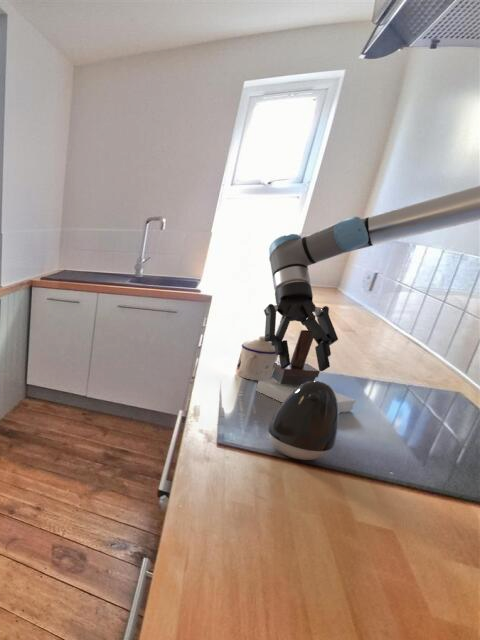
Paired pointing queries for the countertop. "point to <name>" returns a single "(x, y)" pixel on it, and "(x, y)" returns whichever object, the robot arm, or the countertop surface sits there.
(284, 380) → the scrub brush
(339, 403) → the white tile
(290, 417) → the dark grey egg-shaped speaker
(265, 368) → the teacup with lid
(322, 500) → the countertop surface
